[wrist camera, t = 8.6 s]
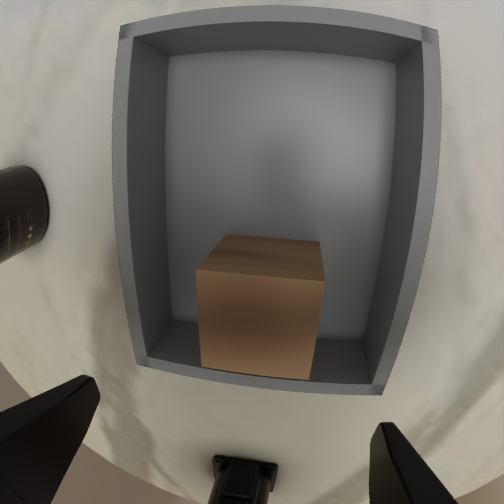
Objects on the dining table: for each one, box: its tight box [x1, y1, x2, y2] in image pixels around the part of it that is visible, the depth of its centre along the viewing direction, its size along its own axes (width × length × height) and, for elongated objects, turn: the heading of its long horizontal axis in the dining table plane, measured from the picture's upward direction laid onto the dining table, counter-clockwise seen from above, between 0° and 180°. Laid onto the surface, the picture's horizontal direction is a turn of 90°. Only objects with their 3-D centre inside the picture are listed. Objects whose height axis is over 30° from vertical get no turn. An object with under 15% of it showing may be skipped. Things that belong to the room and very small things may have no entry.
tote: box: [112, 5, 442, 395], centre depth 14 cm, size 18×14×5 cm
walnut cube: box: [196, 234, 325, 380], centre depth 15 cm, size 5×5×5 cm
